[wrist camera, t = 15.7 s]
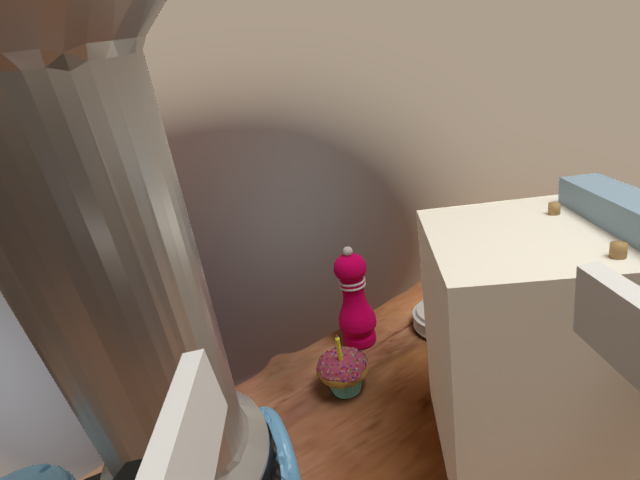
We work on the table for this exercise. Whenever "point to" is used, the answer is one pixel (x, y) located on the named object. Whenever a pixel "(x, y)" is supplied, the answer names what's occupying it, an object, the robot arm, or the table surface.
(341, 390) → the cupcake
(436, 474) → the table surface
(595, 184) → the batten
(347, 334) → the pepper mill
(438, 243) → the plinth
